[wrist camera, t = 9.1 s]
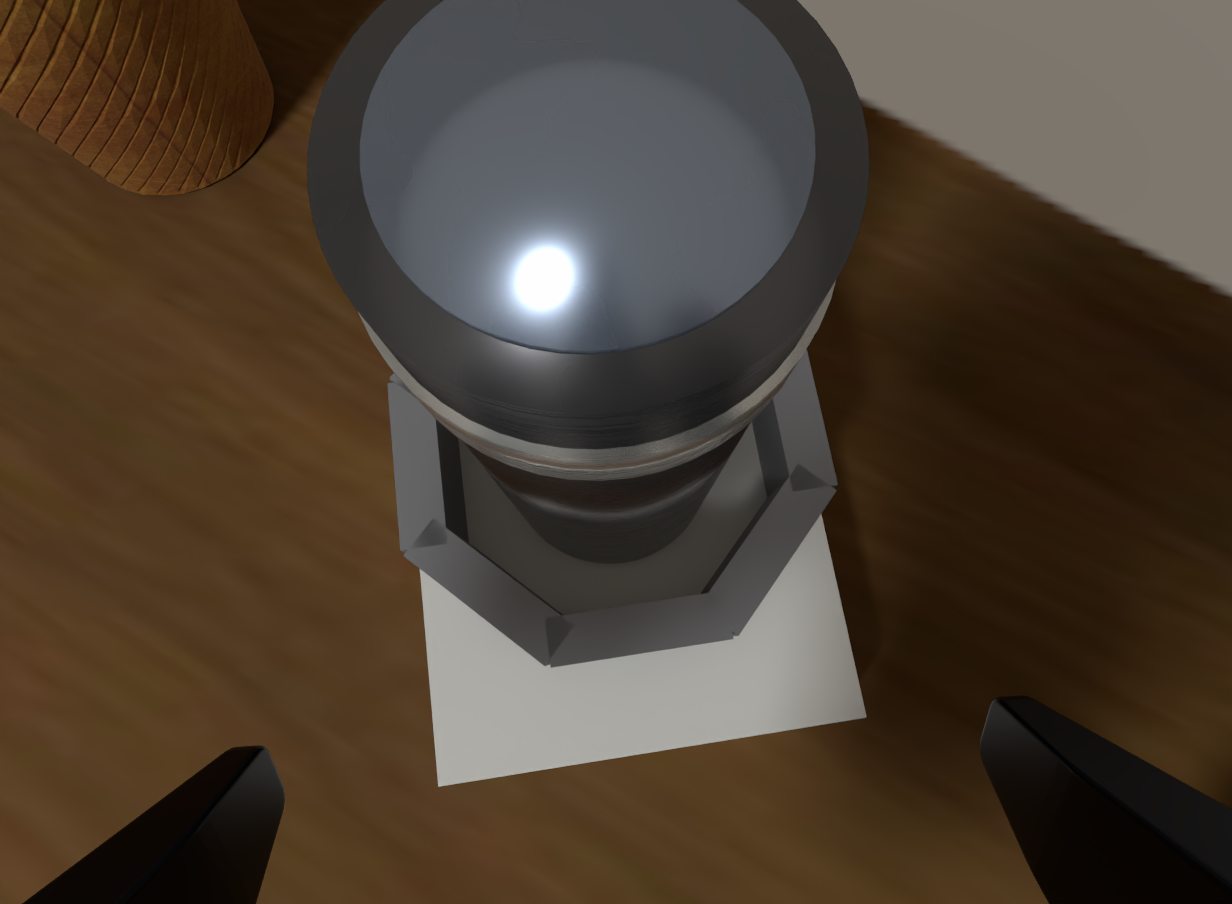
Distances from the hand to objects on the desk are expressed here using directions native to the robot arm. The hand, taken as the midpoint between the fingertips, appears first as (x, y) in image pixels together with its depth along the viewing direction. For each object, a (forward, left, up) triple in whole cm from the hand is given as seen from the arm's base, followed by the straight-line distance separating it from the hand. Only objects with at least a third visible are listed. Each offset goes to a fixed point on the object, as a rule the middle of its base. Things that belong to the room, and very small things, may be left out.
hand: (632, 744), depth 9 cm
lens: (+6, 0, -8) cm, 10 cm away
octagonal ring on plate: (+6, 0, -10) cm, 12 cm away
